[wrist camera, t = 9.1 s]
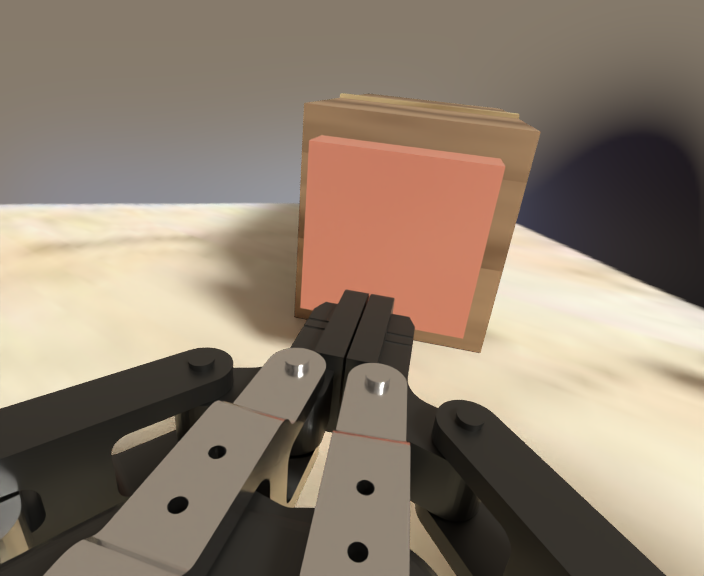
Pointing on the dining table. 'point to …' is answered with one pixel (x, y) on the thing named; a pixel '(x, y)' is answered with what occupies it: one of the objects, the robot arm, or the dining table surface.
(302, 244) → the block
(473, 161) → the salmon square plate
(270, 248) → the dining table surface
